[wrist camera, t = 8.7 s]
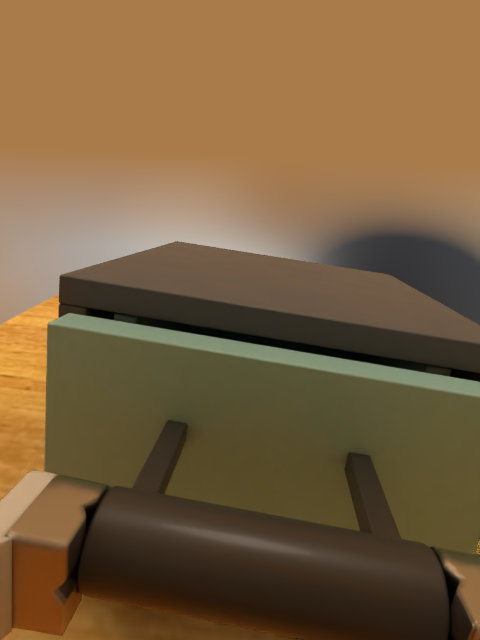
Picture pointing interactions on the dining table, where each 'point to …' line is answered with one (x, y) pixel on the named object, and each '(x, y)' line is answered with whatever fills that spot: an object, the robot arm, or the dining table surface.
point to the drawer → (264, 476)
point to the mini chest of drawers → (277, 303)
